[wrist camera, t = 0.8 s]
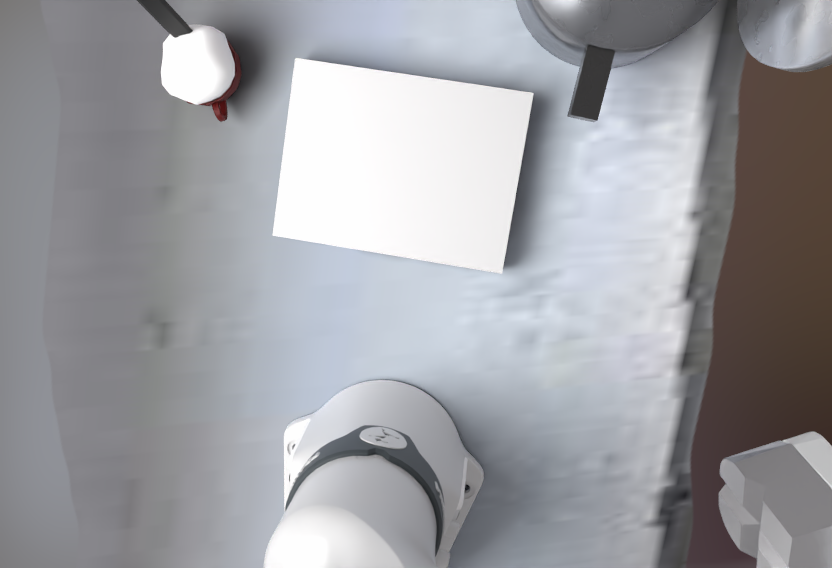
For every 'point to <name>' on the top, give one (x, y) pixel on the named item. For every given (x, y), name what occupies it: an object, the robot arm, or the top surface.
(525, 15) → the cooker pot
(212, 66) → the cocoa
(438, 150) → the white rectangular board
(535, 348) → the top surface
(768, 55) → the cooker lid
